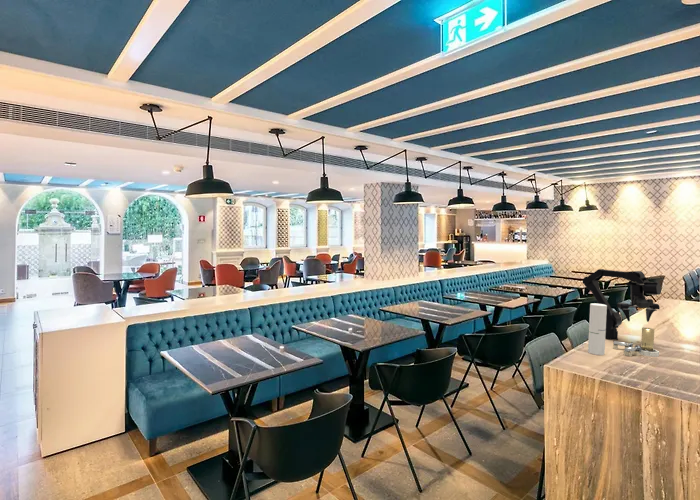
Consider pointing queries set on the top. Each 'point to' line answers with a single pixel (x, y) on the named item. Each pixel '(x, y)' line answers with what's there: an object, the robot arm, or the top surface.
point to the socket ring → (650, 353)
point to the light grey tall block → (597, 329)
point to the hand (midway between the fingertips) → (638, 321)
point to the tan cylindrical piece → (647, 339)
